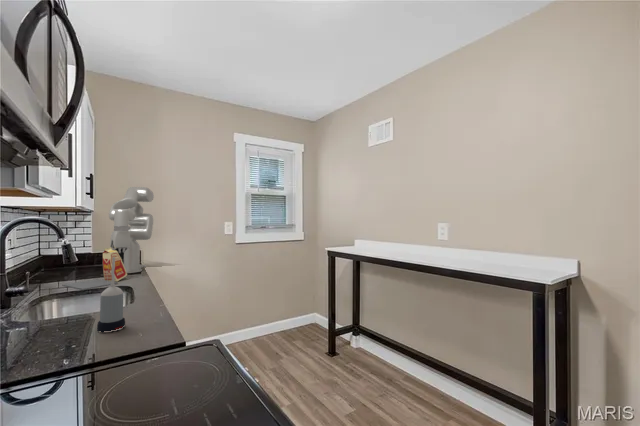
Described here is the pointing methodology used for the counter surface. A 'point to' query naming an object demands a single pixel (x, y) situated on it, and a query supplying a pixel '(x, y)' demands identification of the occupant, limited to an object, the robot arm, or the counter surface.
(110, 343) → the counter surface
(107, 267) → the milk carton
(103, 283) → the mat
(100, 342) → the counter surface
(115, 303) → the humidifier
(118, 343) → the counter surface
